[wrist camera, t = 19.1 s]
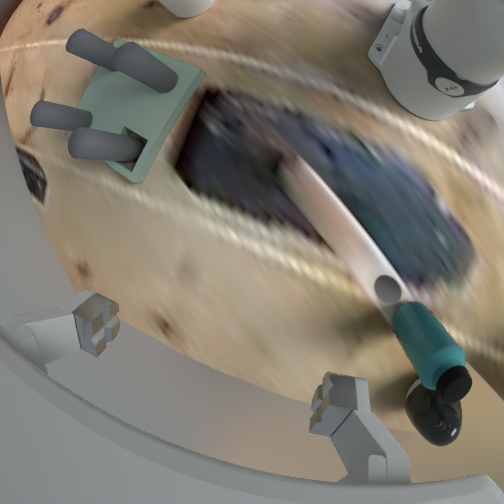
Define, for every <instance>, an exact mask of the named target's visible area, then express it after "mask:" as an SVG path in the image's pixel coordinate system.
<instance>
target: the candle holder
mask: <svg viewBox="0 0 504 504" xmlns="http://www.w3.org/2000/svg"><path fill="white" fill-rule="evenodd" d="M158 1H159V2H160V3H161V4H162V5H163V6H165V7H166V8H167V9H168V10H169V11H170V12H171V13H173V14H174V15H175V16H177V17H180V18H190V17H194V16H197V15H200V14H202V13H203V12H205V11H206V10H208V9H209V8H210V7H211V6H212V4H213V3H214V1H215V0H158Z"/></svg>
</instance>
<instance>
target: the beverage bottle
mask: <svg viewBox="0 0 504 504" xmlns="http://www.w3.org/2000/svg"><path fill="white" fill-rule="evenodd" d="M432 314H433V313H431V312H430V311H429V310H428V309H427V308H426V307H425V306H424V305H423V304H421V302H420V303H419V302H408V303H406V304H404V305H402V306H401V307H400V308H399V309H398V310H397V311H396V313H395V315H394V318H393V322H392V323H393V330H394V331H393V332H395V334H396V335H397V336H396V338H397V337H398V340H399V341H400V342H399V343H401V344H400V345H401V347H402V346H403V348H404V349H403V350H405V352H406V354H407V356H408V359H410V361H411V363H412V364H413V365H412V366H413V367H414V368H415V370H416V372H417V374H418V376H419V378H420V380H421V383H422V385H423V386H424V387H426V388H427V389H431V390H436V391H437V393H438V395H439V396H440V397H441V399H442V400H443V401H444V402H445V403H447V404H452V403H455V402H458V401H459V400H461V399H462V398H463V397H464V396H466V394H467V393H468V392H469V390H470V388H471V386H472V379H471V377H470V375H469V373H468V370H467V369H466V368H465V367H464V365H465V361H466V356H465V352H464V350H463V349H462V348H461V347H460V346H459V345H458V344H457V343H456V341H455V340H454V339H453V338H452V337H451V335H450V334H449V333H448V332H447V331H446V329H445V328H444V326H442V324H441V323H440V322H439V321H438V320H437V319H436V318H435V317H436V316H435V317H434V316H433V315H432ZM405 352H404V353H405Z"/></svg>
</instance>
